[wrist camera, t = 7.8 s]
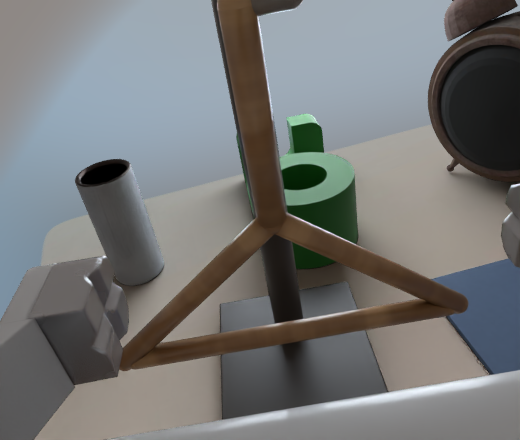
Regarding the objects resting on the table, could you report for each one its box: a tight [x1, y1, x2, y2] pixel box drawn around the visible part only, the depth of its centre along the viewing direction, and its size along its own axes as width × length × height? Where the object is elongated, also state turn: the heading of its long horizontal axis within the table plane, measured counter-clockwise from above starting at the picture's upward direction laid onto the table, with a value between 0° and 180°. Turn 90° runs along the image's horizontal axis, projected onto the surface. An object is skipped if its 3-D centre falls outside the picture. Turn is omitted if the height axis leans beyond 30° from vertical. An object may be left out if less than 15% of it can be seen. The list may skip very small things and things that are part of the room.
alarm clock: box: [428, 0, 520, 182], centre depth 41 cm, size 15×7×20 cm, turn 39°
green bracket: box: [237, 114, 358, 269], centre depth 46 cm, size 18×9×6 cm, turn 8°
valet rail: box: [211, 0, 388, 420], centre depth 22 cm, size 18×10×27 cm, turn 5°
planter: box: [75, 159, 164, 285], centre depth 41 cm, size 4×4×10 cm
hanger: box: [119, 0, 469, 371], centre depth 18 cm, size 1×17×19 cm, turn 95°
